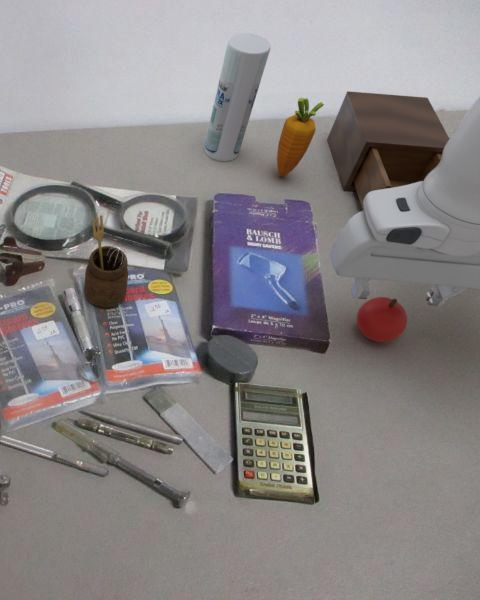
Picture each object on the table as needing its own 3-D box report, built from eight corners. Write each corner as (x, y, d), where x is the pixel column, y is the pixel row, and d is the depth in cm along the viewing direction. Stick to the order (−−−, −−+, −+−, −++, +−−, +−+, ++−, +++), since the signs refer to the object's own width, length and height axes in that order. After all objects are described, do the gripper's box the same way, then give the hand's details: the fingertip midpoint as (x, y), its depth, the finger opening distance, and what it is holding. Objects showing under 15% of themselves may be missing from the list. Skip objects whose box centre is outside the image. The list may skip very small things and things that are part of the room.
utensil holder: (99, 316, 81) (106, 254, 72) (74, 286, 85) (77, 224, 75) (134, 298, 84) (144, 237, 74) (108, 270, 87) (115, 208, 78)
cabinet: (424, 197, 100) (455, 148, 93) (342, 190, 101) (366, 141, 93) (401, 145, 110) (427, 97, 102) (327, 139, 110) (347, 91, 103)
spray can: (201, 139, 109) (226, 31, 93) (236, 141, 109) (267, 33, 93) (204, 161, 105) (231, 52, 89) (241, 163, 105) (274, 54, 89)
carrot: (299, 173, 103) (330, 96, 92) (290, 189, 100) (321, 111, 89) (272, 164, 105) (299, 86, 93) (262, 179, 102) (289, 100, 90)
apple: (388, 317, 83) (412, 283, 78) (399, 353, 79) (425, 319, 74) (345, 314, 83) (366, 279, 78) (354, 348, 79) (377, 315, 74)
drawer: (455, 263, 89) (485, 224, 83) (371, 256, 89) (394, 217, 83) (420, 185, 101) (444, 146, 95) (346, 179, 101) (365, 140, 95)
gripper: (535, 206, 67) (468, 287, 77) (353, 190, 67) (311, 273, 78) (560, 246, 63) (485, 325, 73) (365, 228, 63) (319, 310, 74)
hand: (394, 298), depth 76 cm, fingers open, 8 cm apart
